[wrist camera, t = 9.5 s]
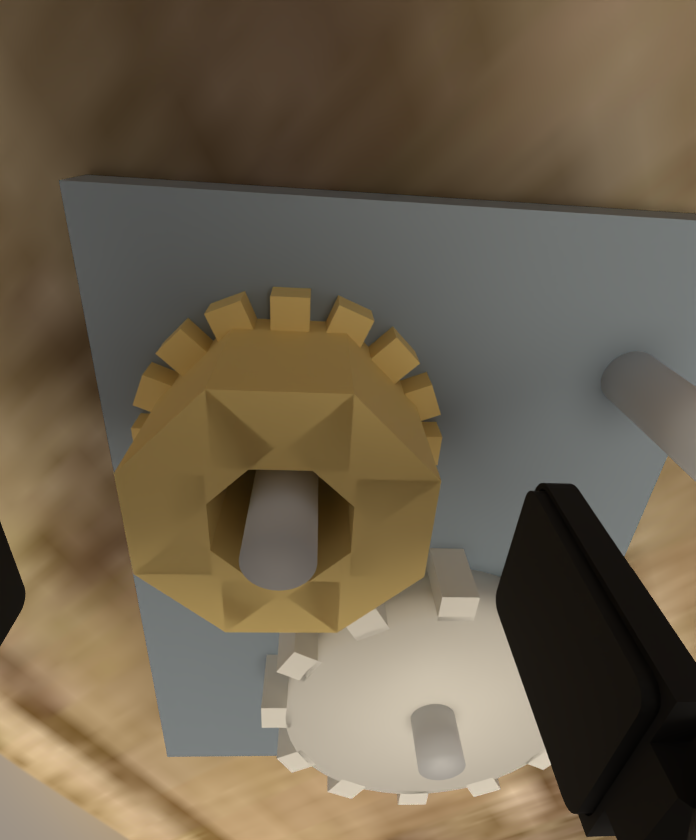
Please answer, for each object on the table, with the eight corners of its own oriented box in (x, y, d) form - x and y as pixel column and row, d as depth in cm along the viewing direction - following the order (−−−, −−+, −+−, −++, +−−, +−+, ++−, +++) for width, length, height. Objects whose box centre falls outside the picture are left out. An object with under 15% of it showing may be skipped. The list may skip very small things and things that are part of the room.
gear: (119, 280, 12) (38, 340, 9) (456, 295, 13) (507, 358, 9) (160, 540, 16) (115, 654, 13) (416, 543, 17) (442, 654, 13)
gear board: (86, 174, 12) (-112, 213, 7) (724, 215, 14) (1014, 278, 8) (176, 721, 23) (128, 913, 17) (527, 719, 24) (590, 900, 19)
